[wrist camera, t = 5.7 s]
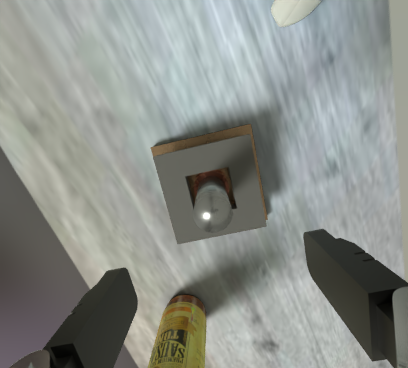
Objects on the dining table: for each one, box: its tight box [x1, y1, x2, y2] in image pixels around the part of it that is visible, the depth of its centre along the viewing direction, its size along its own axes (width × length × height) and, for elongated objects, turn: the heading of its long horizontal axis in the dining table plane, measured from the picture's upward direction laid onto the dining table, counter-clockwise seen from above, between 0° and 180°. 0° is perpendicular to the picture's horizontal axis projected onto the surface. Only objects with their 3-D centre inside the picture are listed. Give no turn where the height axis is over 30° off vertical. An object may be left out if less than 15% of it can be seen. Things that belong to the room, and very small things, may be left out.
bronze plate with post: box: [151, 124, 268, 233], centre depth 21 cm, size 12×12×11 cm
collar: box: [153, 134, 266, 244], centre depth 23 cm, size 10×10×2 cm
